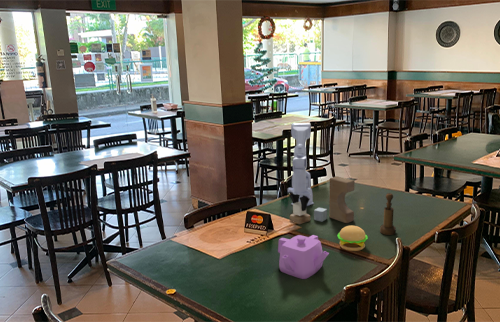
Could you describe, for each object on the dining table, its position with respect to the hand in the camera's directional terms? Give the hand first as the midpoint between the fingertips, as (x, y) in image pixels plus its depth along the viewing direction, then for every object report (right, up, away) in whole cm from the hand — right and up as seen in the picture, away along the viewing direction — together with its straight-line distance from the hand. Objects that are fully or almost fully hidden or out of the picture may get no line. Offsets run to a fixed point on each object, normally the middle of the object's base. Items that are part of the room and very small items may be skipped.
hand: (299, 209), depth 201 cm
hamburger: (+18, -12, -29) cm, 36 cm away
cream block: (0, -2, 0) cm, 2 cm away
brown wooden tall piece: (+37, -8, -16) cm, 41 cm away
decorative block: (+20, -5, +1) cm, 21 cm away
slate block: (+10, -5, +2) cm, 12 cm away
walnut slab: (0, -6, +1) cm, 6 cm away
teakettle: (-5, -17, -46) cm, 49 cm away
